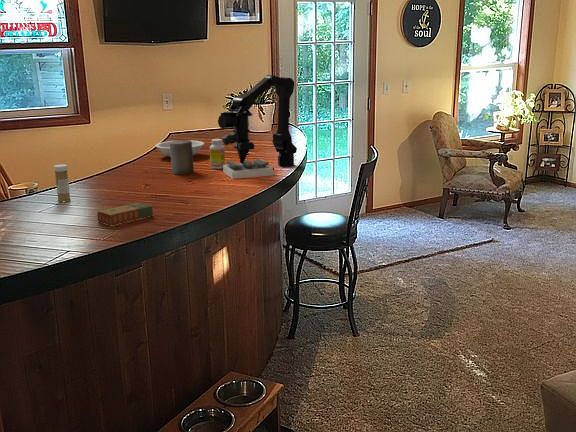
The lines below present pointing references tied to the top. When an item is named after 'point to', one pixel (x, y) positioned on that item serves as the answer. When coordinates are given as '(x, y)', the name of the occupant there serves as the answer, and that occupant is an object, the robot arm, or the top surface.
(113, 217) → the carton
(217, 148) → the supplement bottle
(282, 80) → the robot arm
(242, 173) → the light switch panel
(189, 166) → the pillar candle
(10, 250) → the top surface
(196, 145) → the soup bowl
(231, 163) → the rocker
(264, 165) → the rocker
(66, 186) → the sprinkles bottle
